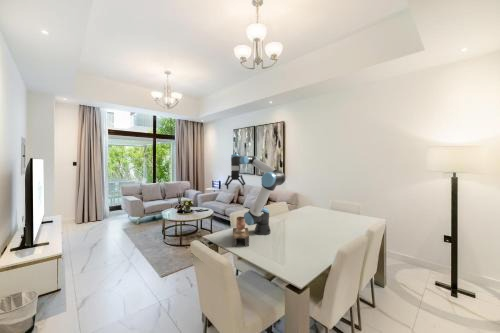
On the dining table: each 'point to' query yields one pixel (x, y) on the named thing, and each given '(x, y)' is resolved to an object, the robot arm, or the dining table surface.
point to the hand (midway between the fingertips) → (235, 192)
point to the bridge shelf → (241, 236)
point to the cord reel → (240, 224)
